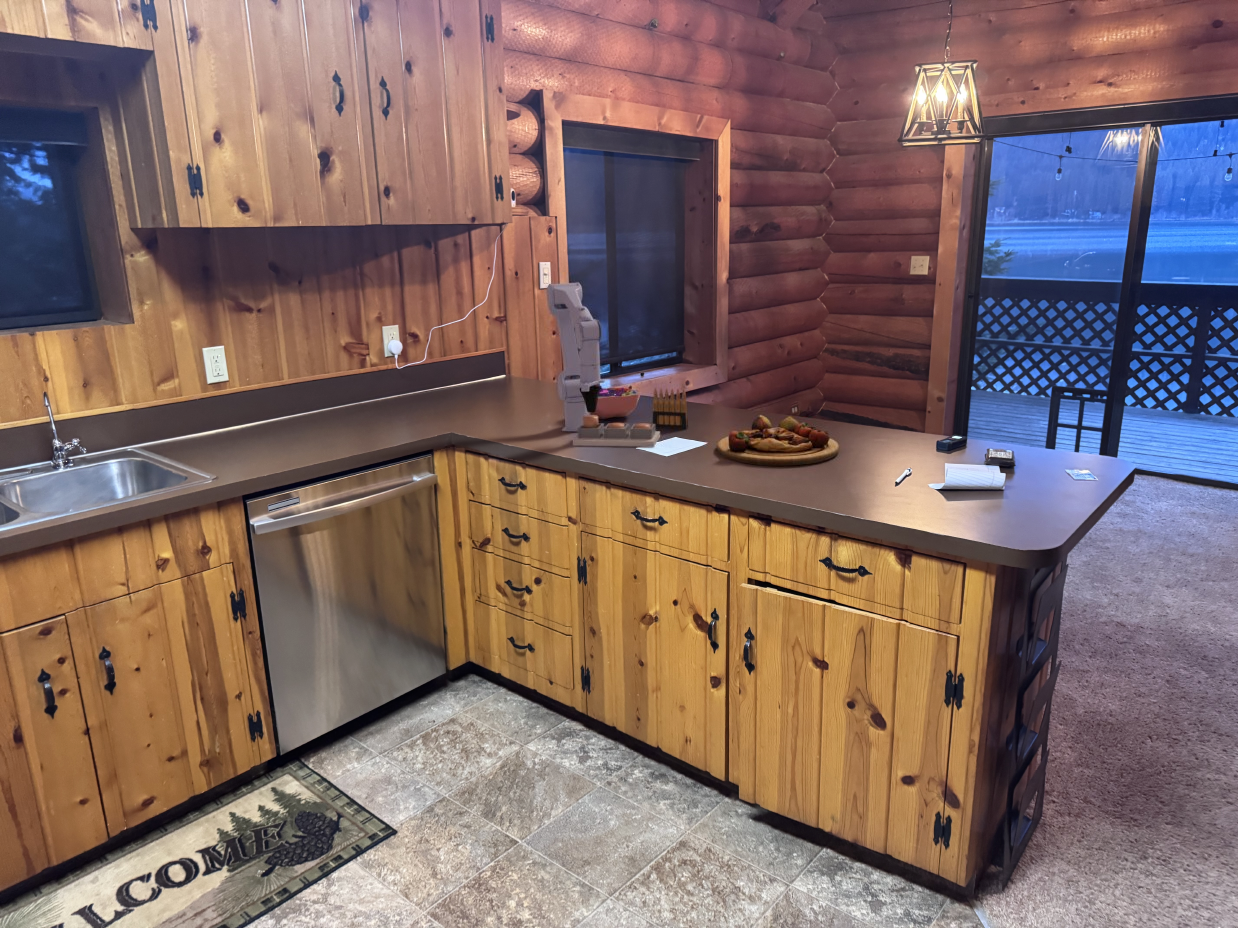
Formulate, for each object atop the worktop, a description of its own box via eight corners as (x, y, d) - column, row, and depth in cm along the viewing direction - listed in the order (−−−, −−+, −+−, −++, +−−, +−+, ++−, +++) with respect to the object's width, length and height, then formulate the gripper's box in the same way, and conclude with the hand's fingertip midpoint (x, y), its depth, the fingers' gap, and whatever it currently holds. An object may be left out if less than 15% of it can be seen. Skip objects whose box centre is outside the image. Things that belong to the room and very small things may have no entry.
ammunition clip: (652, 427, 259) (651, 388, 256) (654, 426, 261) (653, 387, 258) (686, 429, 256) (686, 389, 253) (688, 428, 257) (687, 388, 254)
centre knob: (610, 433, 247) (610, 422, 246) (625, 433, 246) (625, 422, 245) (607, 437, 243) (607, 426, 242) (623, 437, 242) (622, 426, 241)
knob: (636, 434, 246) (636, 423, 245) (651, 434, 245) (651, 423, 244) (634, 437, 241) (633, 426, 240) (649, 438, 241) (649, 426, 240)
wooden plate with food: (739, 473, 211) (739, 440, 209) (702, 442, 241) (702, 414, 239) (860, 462, 217) (861, 430, 214) (809, 434, 247) (810, 405, 245)
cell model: (641, 423, 266) (640, 387, 263) (577, 424, 267) (575, 388, 264) (641, 411, 283) (640, 377, 280) (580, 413, 283) (579, 379, 280)
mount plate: (582, 435, 253) (582, 421, 252) (660, 436, 248) (659, 421, 247) (572, 445, 241) (572, 430, 240) (653, 446, 237) (653, 431, 236)
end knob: (585, 425, 248) (584, 414, 247) (600, 425, 247) (599, 415, 246) (581, 429, 244) (581, 418, 243) (596, 429, 243) (596, 418, 242)
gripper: (598, 368, 233) (600, 417, 236) (608, 360, 246) (610, 406, 250) (573, 368, 234) (575, 417, 238) (584, 360, 248) (586, 406, 251)
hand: (591, 411), depth 244 cm, fingers closed
